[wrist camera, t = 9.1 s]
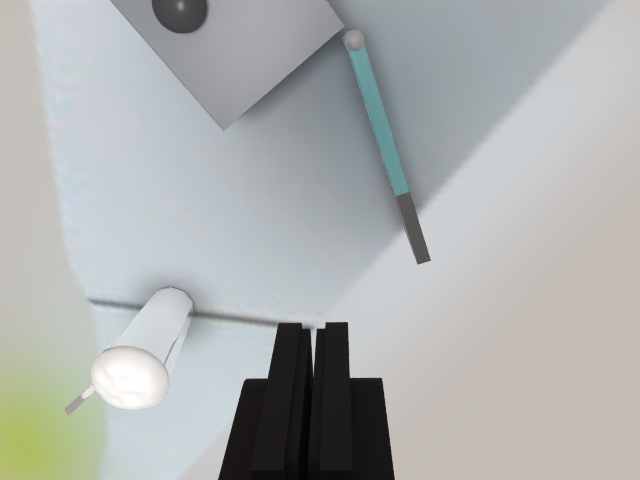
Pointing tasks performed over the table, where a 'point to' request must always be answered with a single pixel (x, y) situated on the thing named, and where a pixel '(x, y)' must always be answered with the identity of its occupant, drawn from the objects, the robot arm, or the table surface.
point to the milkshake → (142, 354)
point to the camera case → (231, 44)
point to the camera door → (385, 141)
